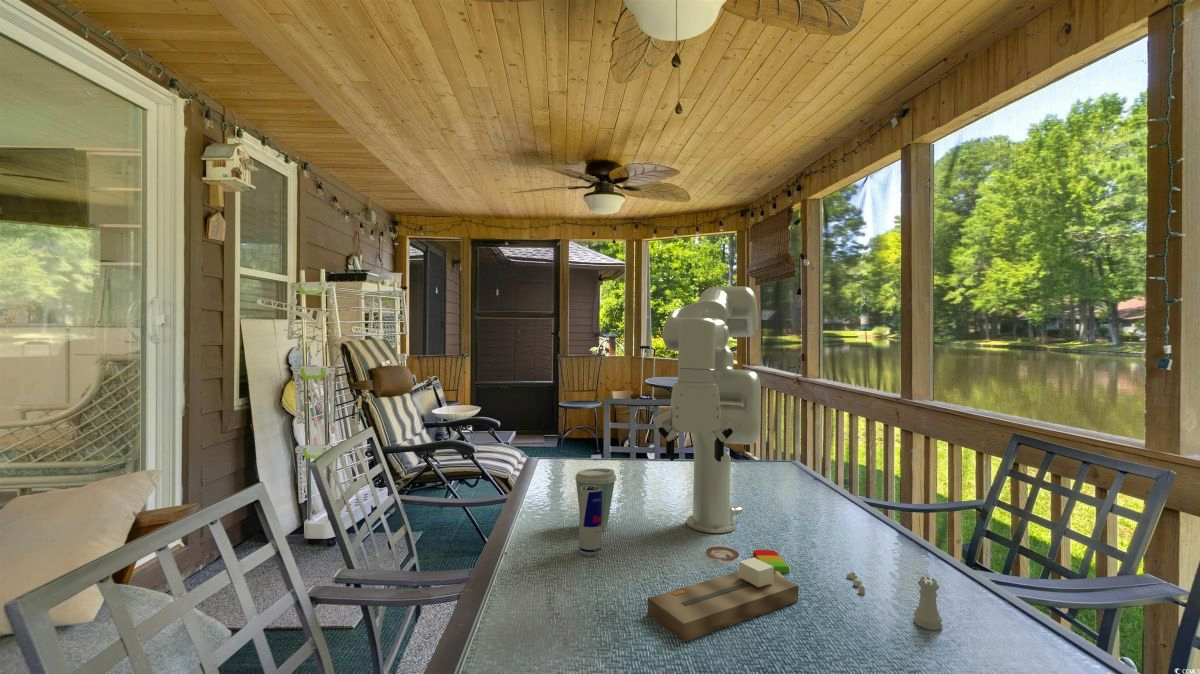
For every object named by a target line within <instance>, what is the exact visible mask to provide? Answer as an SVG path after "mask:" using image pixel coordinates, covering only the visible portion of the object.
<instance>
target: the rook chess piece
mask: <svg viewBox="0 0 1200 674" xmlns="http://www.w3.org/2000/svg"><path fill="white" fill-rule="evenodd" d="M917 584H918V586H919V587H920V589H919V590H918V593H919V594H920V595H919V596H920V597H919V602H918V606H917V607H916V609H915V610H913V617H912V619H913V621H914V623H915V624H916V626H918V627H920V628H922V629H923V630H928V631H933V632H934V631H935V632H936V631H939V630H941V628H943V624H942V622H943V618H942V616H941V615H940V611H939V610H938V605H937V597H938V593H937V590H939V589H940V586H939V584H938V580H936V579H935V578H934V577H932V578H930V576H926V578H925V576H924V575H923V576H921V577H920V578H919V580H918V581H917Z"/></svg>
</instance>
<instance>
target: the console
mask: <svg viewBox="0 0 1200 674" xmlns="http://www.w3.org/2000/svg"><path fill="white" fill-rule="evenodd" d="M798 601H799V584H797V583H795V582H792V581H791V580H789V579H787V578H785V577H784V578H782V577H780V576H778V575H776V574H775V573H774V583H771V584H768V585H765V586H761V587H757V586H755V585H753V584H751V583H750V582H748V581H746V580H744V579H742V578H740V577H739V570H738V571H735V572H732V573H729V574H725V575H723V576H718V577H715V578H711V579H708V580H705V581H702V582H697V583H695V584H691V585H688V586H684V587H681V588H677V589H675V590H674V589H673V590H670V591H666V592H664V593H660V594H657V595H653V596H648V597H647V615H648V616H649V617H650V618H652V619H653V620H655V622H657V623H658V624H659V625H661V626H662V627H663V628H665V629H666V630H667V631H668V632H670V633H671V634H673V635H674V636H675V637H677V638H678V639H679V640H681V641H682V642H683V643H684V642H688V641H691V640H693V639H696V638H699V637H701V636H705V635H707V634H710V633H713V632H715V631H718V630H721V629H723V628H727V627H729V626H732V625H735V624H738V623H741V622H744V621H746V620H749V619H752V618H754V617H755V618H756V617H758V616H760V615H763V614H766V613H769V612H771V611H774V610H777V609H779V608H782V607H783V608H784V607H786V606H787V605H792V604H794V603H796V602H798Z"/></svg>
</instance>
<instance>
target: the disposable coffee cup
mask: <svg viewBox="0 0 1200 674" xmlns="http://www.w3.org/2000/svg"><path fill="white" fill-rule="evenodd" d="M574 479H575V484H576V491H577V499H578V500H577V502H578V512H579V513H580V487H582V486H585V485H596V486H600V487H602V530H601V533H602V532H604V531H606V529H607V527H608V524H609V517H610V513H611V511H610V510H611V506H612V501H613V500H612V499H613V495H614V488H615V482H616V481H617V475H616V474H615V470H614V469H611V468H601V467H599V468H596V467H595V468H593V467H592V468H585V469H581V470H579V471H578V472H577V473H576V475H575V478H574Z"/></svg>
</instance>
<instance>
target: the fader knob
mask: <svg viewBox="0 0 1200 674" xmlns="http://www.w3.org/2000/svg"><path fill="white" fill-rule="evenodd" d="M738 566H739V567H738V571H739V577H740V578H742V579H744V580H746V581H748V582H750V583H751V584H753V585H755V586H757V587H761V586H765V585H768V584H771V583H774V574H775V573H774V567H773V566H771V565H769V564H767V563H765V562H762V561H760V560H758V559H756V558H753V557H750V558H747V559H743V560H740V561H739V562H738Z"/></svg>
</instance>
